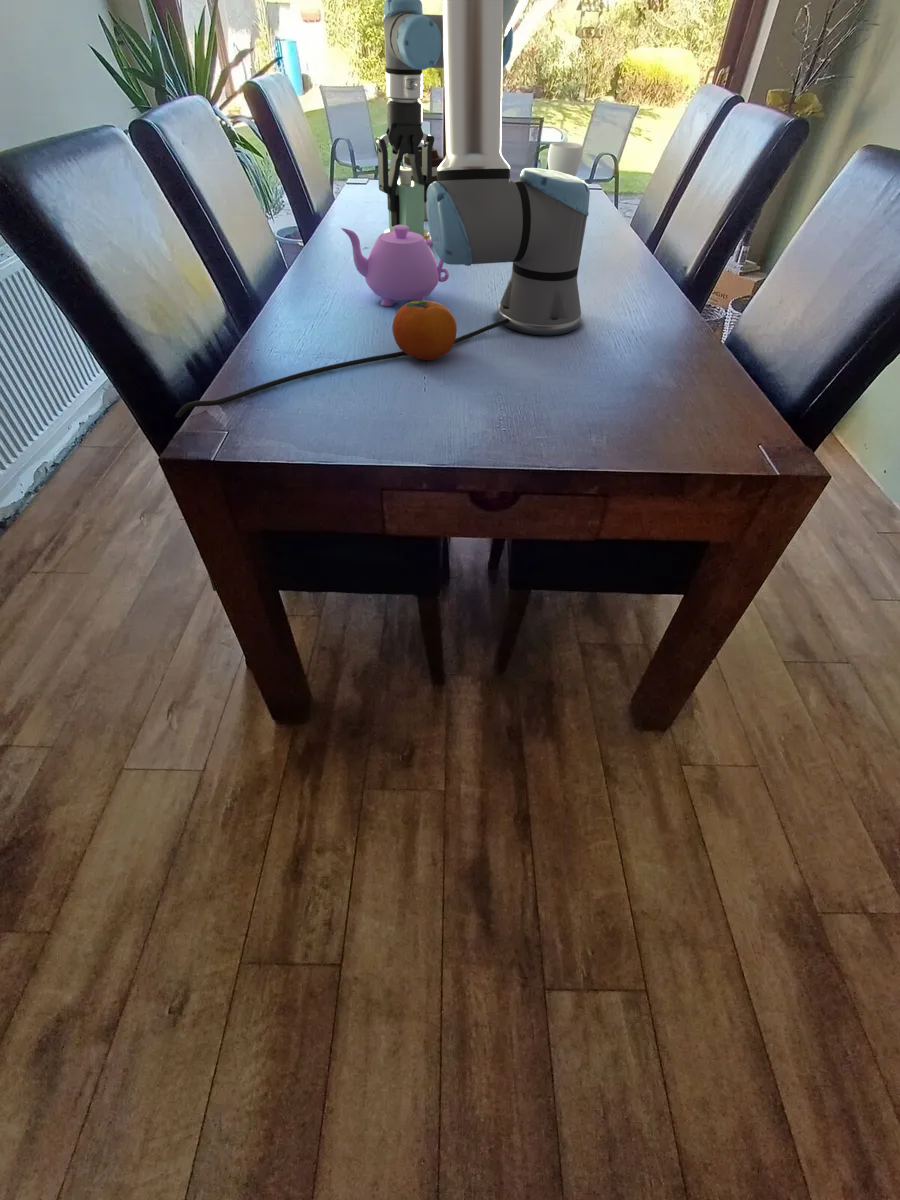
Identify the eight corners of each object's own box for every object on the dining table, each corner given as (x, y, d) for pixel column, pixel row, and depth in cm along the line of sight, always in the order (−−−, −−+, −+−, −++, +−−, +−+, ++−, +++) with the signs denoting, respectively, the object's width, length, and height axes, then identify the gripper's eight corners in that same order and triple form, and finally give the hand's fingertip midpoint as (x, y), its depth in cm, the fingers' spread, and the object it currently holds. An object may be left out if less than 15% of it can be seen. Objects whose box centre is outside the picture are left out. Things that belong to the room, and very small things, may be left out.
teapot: (346, 311, 118) (340, 237, 109) (346, 285, 128) (341, 215, 119) (452, 310, 120) (454, 237, 111) (444, 285, 130) (446, 216, 121)
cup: (547, 221, 169) (556, 148, 158) (536, 212, 175) (544, 141, 164) (578, 220, 170) (589, 148, 159) (566, 211, 177) (576, 141, 165)
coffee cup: (449, 216, 169) (451, 148, 158) (428, 224, 163) (429, 154, 152) (418, 210, 172) (418, 143, 162) (397, 217, 166) (396, 148, 156)
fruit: (468, 356, 105) (471, 307, 100) (422, 374, 100) (423, 322, 94) (425, 336, 110) (425, 288, 105) (379, 352, 105) (377, 302, 100)
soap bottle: (398, 245, 144) (397, 175, 134) (376, 233, 150) (373, 166, 141) (436, 239, 148) (437, 171, 139) (413, 228, 154) (413, 162, 145)
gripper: (373, 103, 125) (378, 234, 142) (450, 100, 132) (447, 225, 149) (357, 98, 130) (364, 226, 146) (432, 96, 137) (431, 217, 153)
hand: (406, 225), depth 147 cm, fingers closed on soap bottle, 5 cm apart
